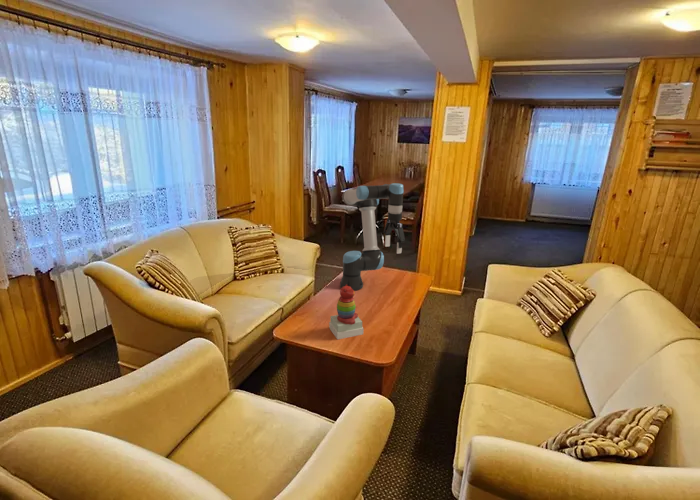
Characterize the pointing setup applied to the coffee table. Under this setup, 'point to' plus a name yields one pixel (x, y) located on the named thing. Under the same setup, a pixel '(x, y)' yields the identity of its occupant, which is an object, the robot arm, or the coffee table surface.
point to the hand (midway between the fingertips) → (393, 249)
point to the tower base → (346, 333)
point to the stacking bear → (346, 306)
